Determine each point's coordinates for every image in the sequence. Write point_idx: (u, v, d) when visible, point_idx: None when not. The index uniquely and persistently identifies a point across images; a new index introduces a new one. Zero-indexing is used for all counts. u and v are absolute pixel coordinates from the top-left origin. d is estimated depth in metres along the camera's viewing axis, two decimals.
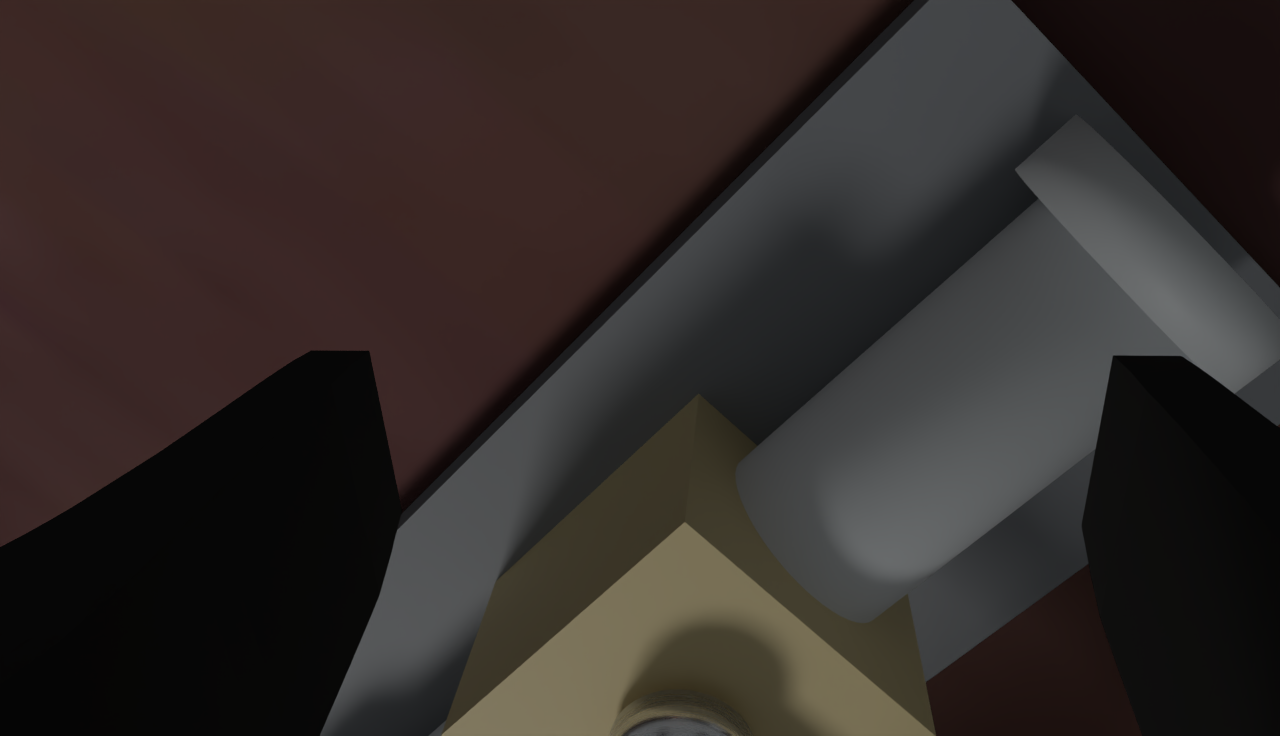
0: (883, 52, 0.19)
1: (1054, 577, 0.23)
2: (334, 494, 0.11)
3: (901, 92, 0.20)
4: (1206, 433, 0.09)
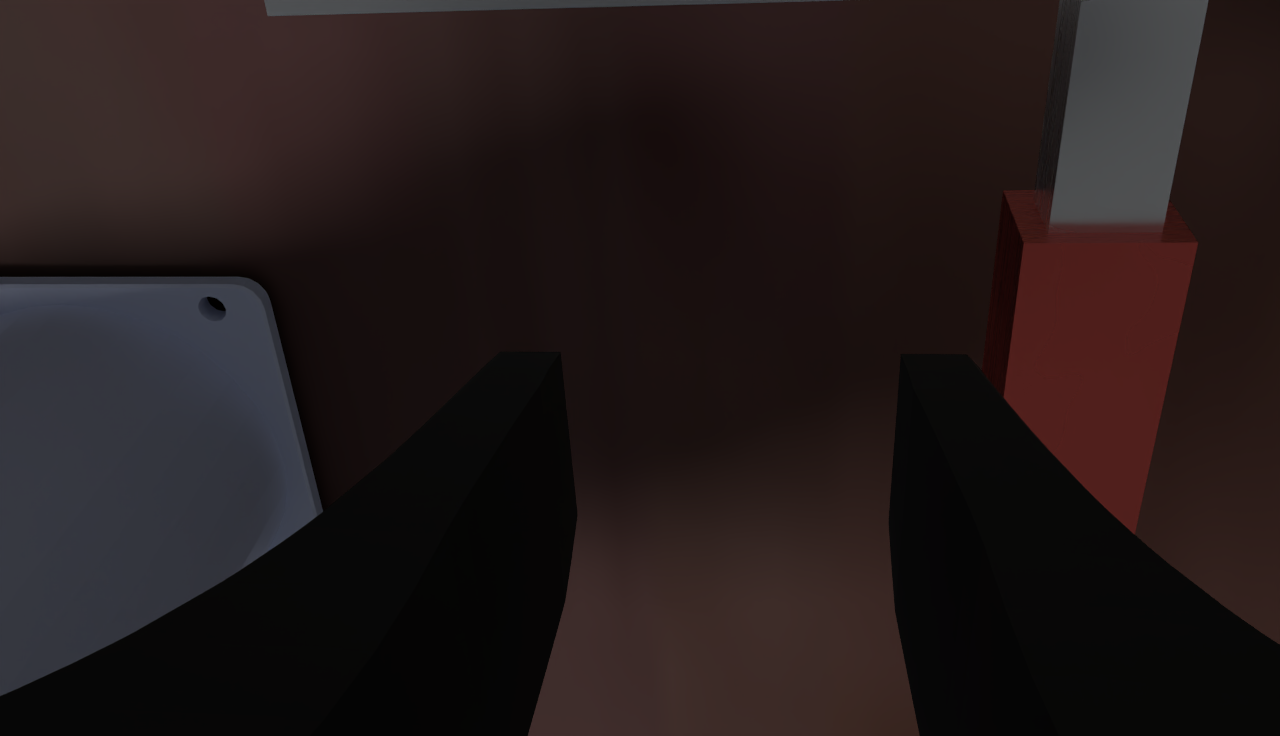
0: None
1: None
2: (539, 498, 0.11)
3: None
4: (952, 430, 0.09)
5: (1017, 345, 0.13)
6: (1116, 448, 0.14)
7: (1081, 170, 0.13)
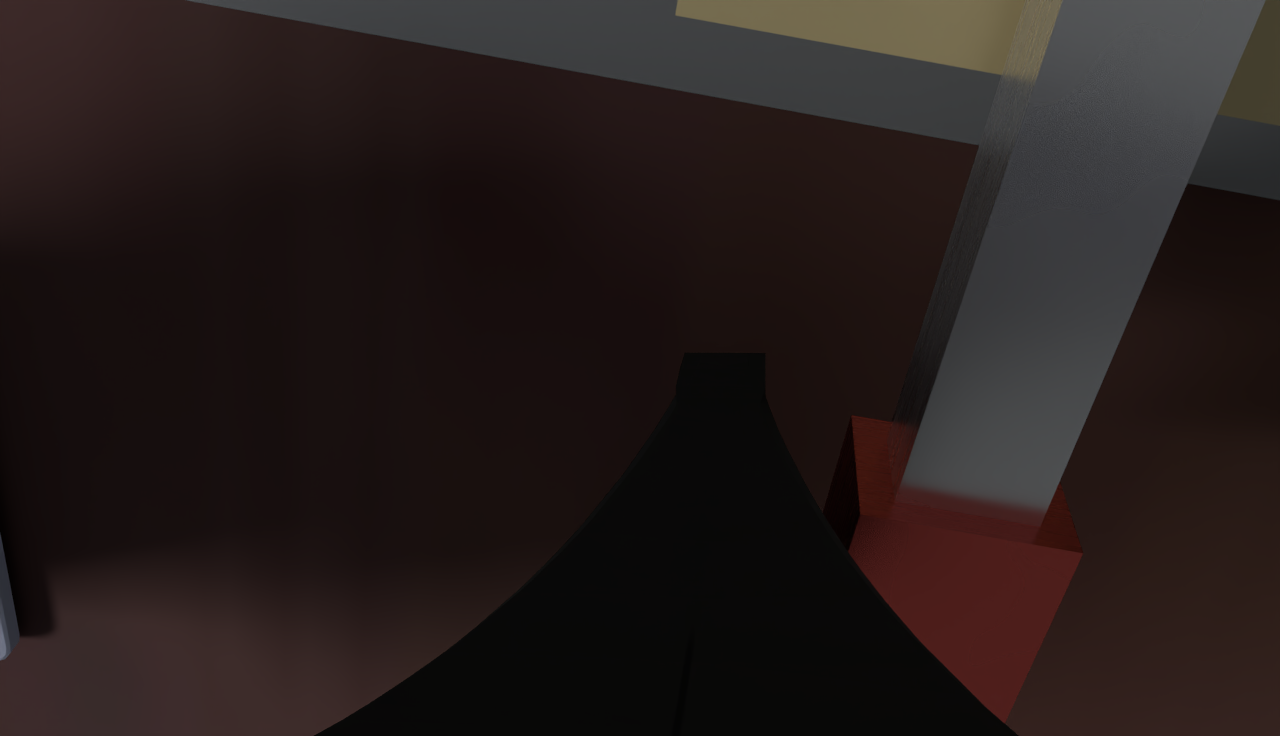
0: None
1: None
2: None
3: None
4: (695, 426, 0.09)
5: None
6: None
7: (950, 435, 0.09)
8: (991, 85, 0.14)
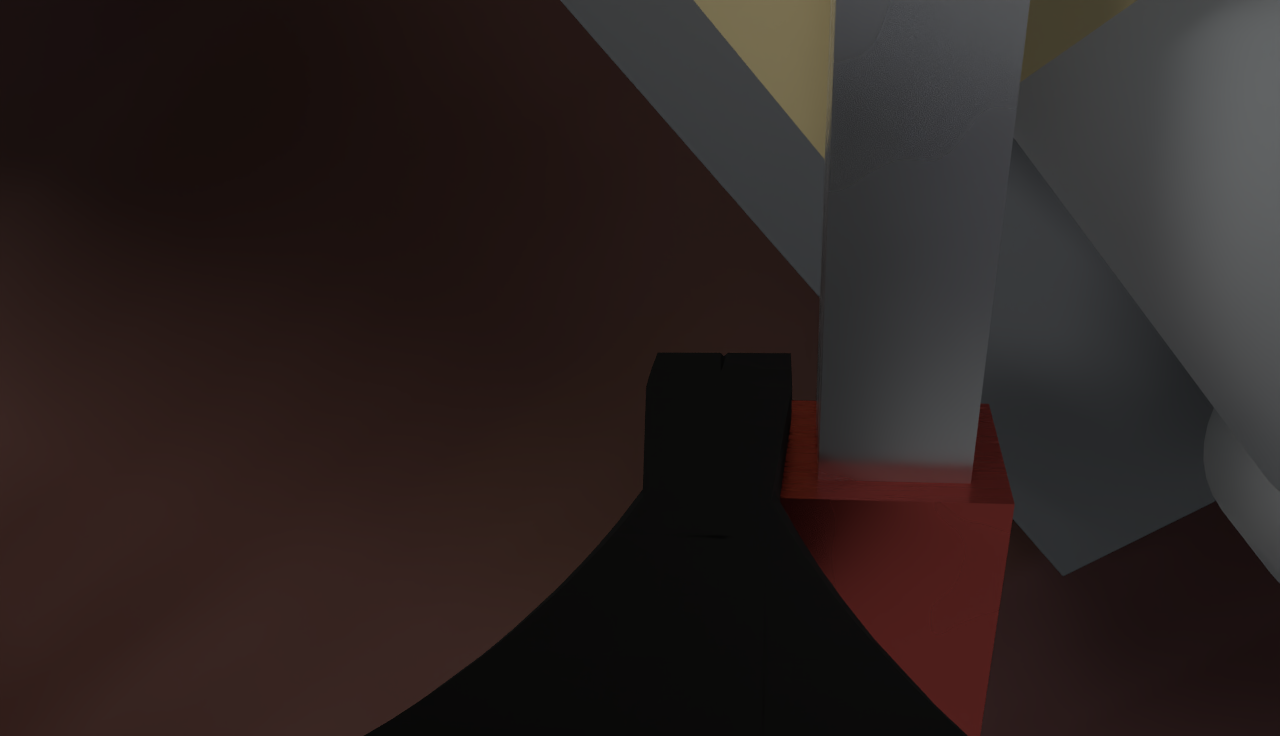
0: None
1: (804, 257, 0.15)
2: None
3: None
4: (662, 426, 0.10)
5: None
6: None
7: (854, 405, 0.09)
8: None
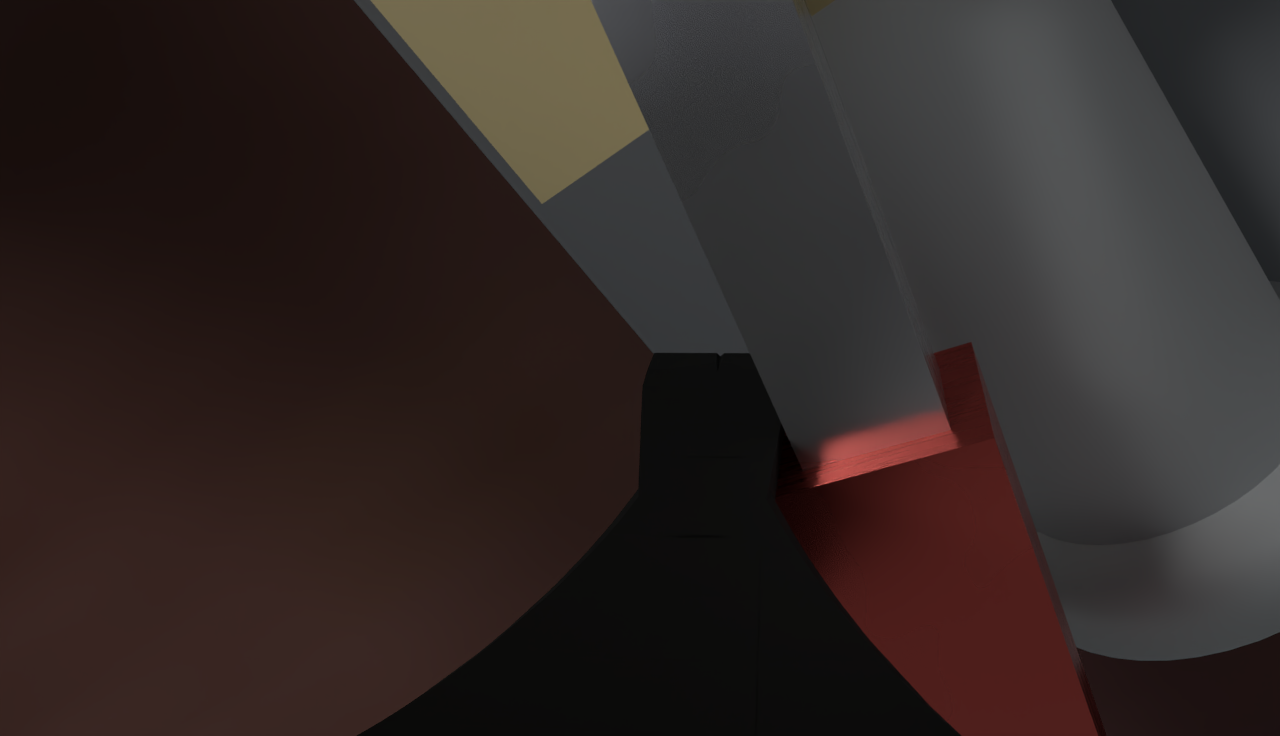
0: None
1: (591, 258, 0.15)
2: None
3: None
4: (658, 426, 0.10)
5: None
6: (1030, 694, 0.10)
7: (801, 389, 0.09)
8: None
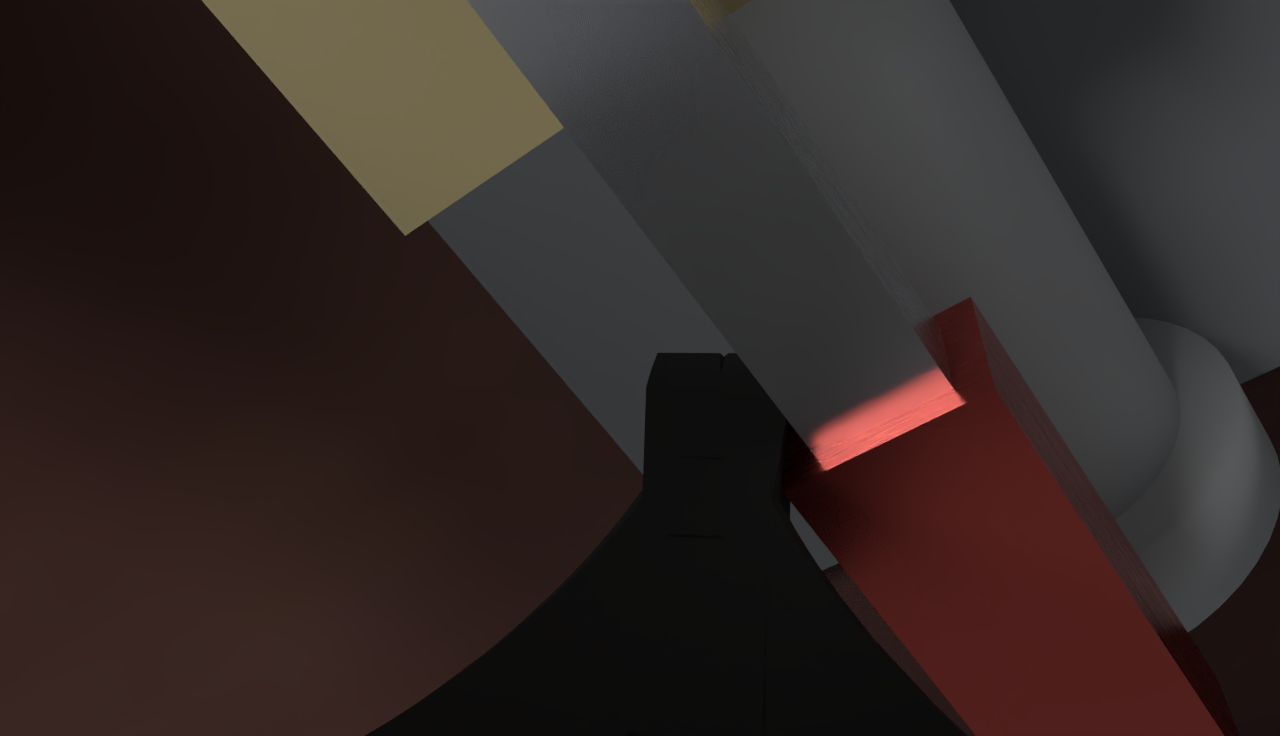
0: None
1: (494, 278, 0.16)
2: (787, 503, 0.10)
3: None
4: (662, 426, 0.10)
5: (876, 594, 0.10)
6: (1104, 647, 0.10)
7: (793, 375, 0.09)
8: None
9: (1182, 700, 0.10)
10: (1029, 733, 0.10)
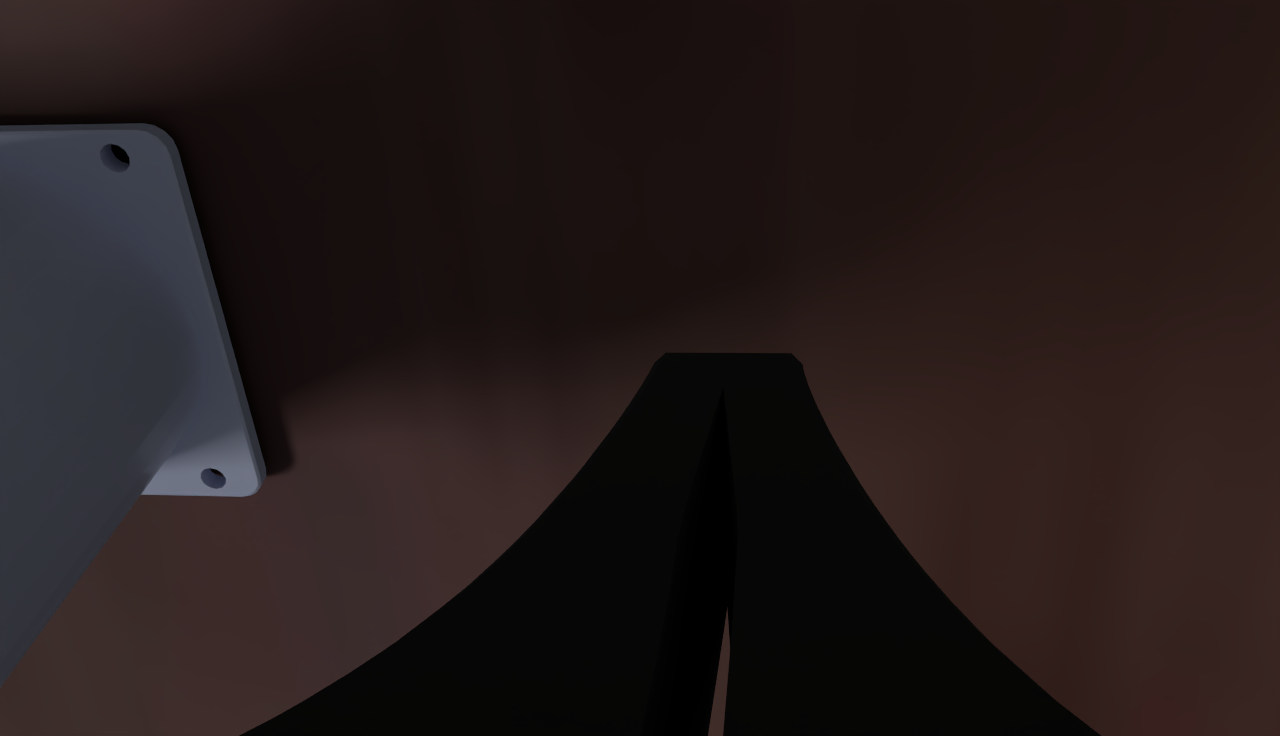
0: None
1: None
2: (718, 501, 0.10)
3: None
4: (746, 427, 0.09)
5: None
6: None
7: None
8: None
9: None
10: None
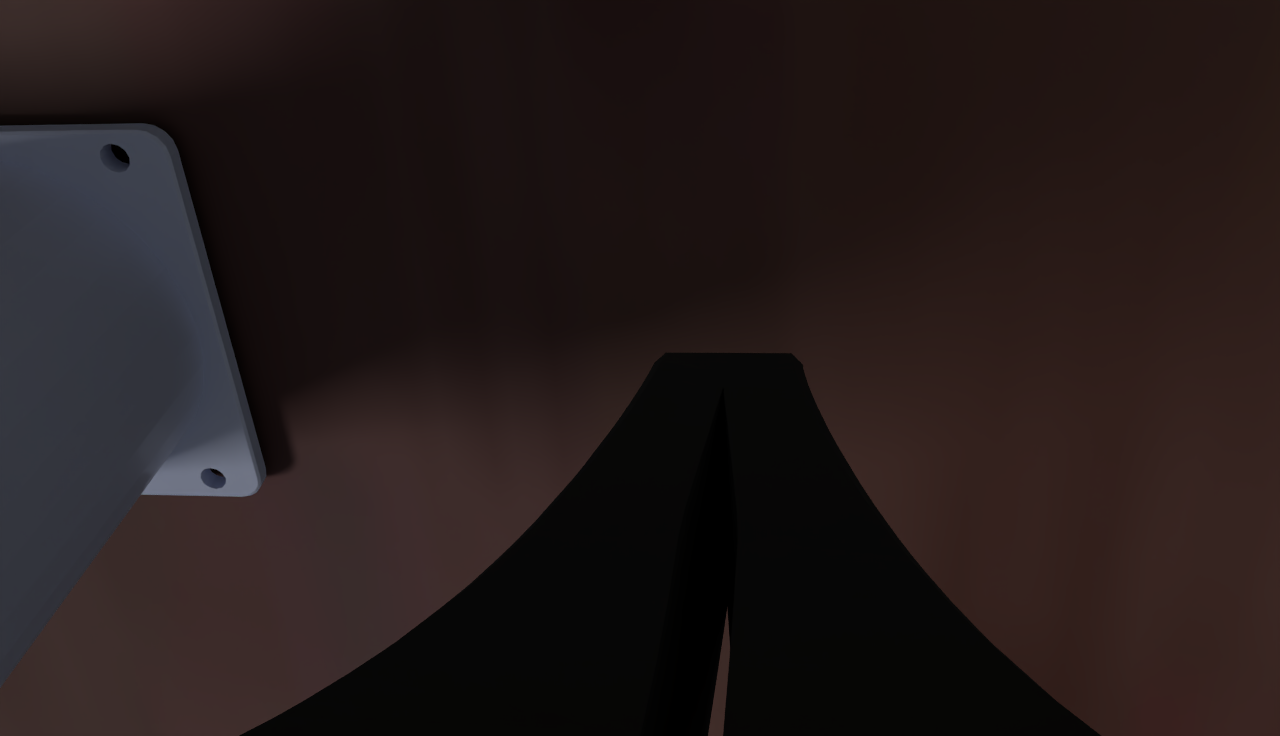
0: None
1: None
2: (719, 501, 0.10)
3: None
4: (746, 427, 0.09)
5: None
6: None
7: None
8: None
9: None
10: None
